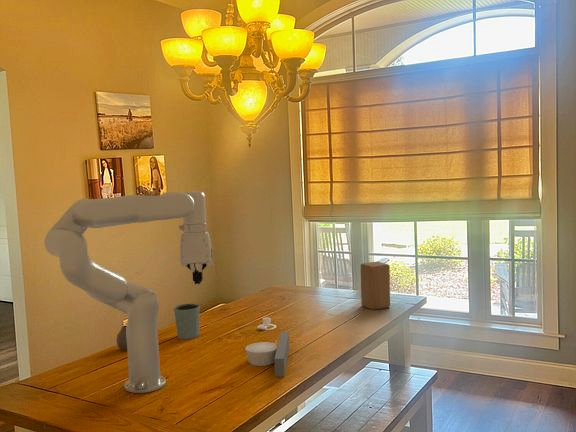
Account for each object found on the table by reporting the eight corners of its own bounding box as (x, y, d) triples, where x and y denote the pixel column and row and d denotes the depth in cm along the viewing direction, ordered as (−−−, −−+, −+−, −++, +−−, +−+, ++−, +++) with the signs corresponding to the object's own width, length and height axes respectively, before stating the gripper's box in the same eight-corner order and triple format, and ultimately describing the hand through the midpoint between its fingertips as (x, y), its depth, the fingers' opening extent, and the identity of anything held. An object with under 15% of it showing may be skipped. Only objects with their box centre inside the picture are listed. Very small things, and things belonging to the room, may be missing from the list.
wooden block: (360, 305, 267) (359, 263, 265) (378, 302, 271) (377, 260, 269) (372, 310, 258) (371, 266, 256) (391, 307, 262) (390, 264, 260)
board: (284, 376, 185) (283, 358, 184) (275, 376, 185) (274, 358, 184) (289, 347, 213) (288, 331, 212) (281, 347, 213) (280, 331, 212)
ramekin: (242, 358, 203) (241, 344, 202) (273, 354, 206) (272, 340, 206) (250, 369, 192) (249, 354, 192) (282, 364, 196) (281, 349, 195)
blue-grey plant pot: (176, 341, 225) (174, 311, 224) (174, 333, 235) (172, 304, 233) (202, 338, 228) (201, 308, 226) (199, 330, 237) (198, 302, 236)
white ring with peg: (261, 332, 233) (261, 322, 233) (252, 327, 240) (251, 318, 240) (280, 328, 238) (279, 318, 238) (270, 324, 245) (269, 314, 244)
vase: (129, 344, 222) (127, 322, 221) (140, 348, 218) (138, 325, 217) (113, 349, 217) (112, 327, 216) (124, 353, 213) (122, 330, 212)
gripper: (169, 230, 187) (173, 286, 189) (215, 229, 186) (218, 285, 188) (175, 227, 195) (178, 281, 197) (219, 226, 194) (222, 280, 196)
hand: (197, 283), depth 192 cm, fingers closed
